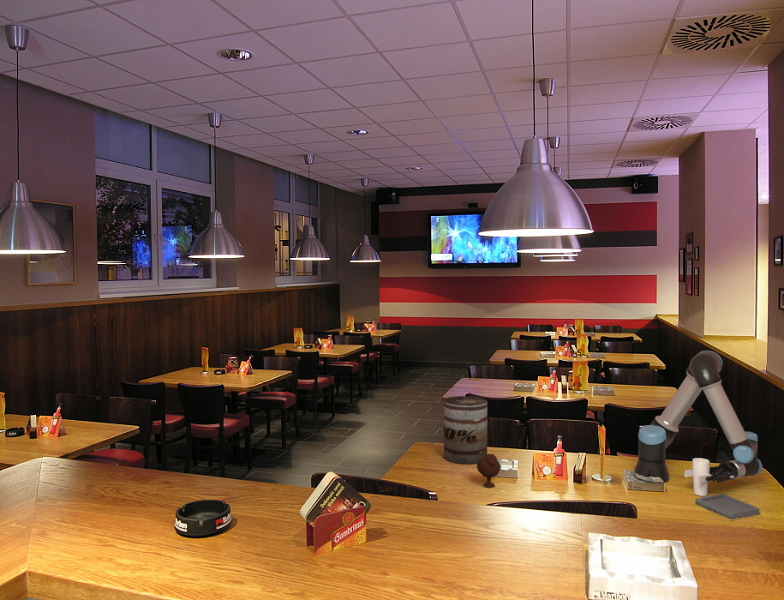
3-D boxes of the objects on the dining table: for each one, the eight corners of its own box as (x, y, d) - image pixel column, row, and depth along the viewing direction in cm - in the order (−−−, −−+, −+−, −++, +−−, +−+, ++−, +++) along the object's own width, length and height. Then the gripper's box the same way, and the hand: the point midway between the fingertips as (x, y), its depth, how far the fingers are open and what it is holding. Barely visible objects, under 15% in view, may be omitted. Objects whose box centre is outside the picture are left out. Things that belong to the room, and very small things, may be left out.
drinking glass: (711, 497, 257) (712, 463, 256) (694, 496, 258) (694, 462, 258) (706, 492, 264) (707, 458, 263) (689, 490, 265) (690, 457, 264)
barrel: (434, 456, 316) (434, 400, 314) (465, 448, 329) (465, 394, 328) (464, 467, 298) (464, 407, 296) (496, 458, 311) (496, 401, 310)
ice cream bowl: (502, 482, 276) (502, 450, 276) (498, 491, 266) (498, 458, 265) (479, 480, 280) (479, 448, 279) (474, 488, 269) (474, 455, 269)
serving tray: (695, 504, 250) (695, 498, 250) (722, 499, 255) (722, 493, 255) (731, 520, 234) (731, 514, 234) (759, 514, 240) (759, 508, 239)
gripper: (751, 485, 258) (711, 493, 250) (712, 471, 276) (673, 477, 268) (751, 468, 258) (711, 475, 249) (712, 455, 276) (674, 461, 268)
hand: (692, 476), depth 259 cm, fingers closed on drinking glass, 6 cm apart
